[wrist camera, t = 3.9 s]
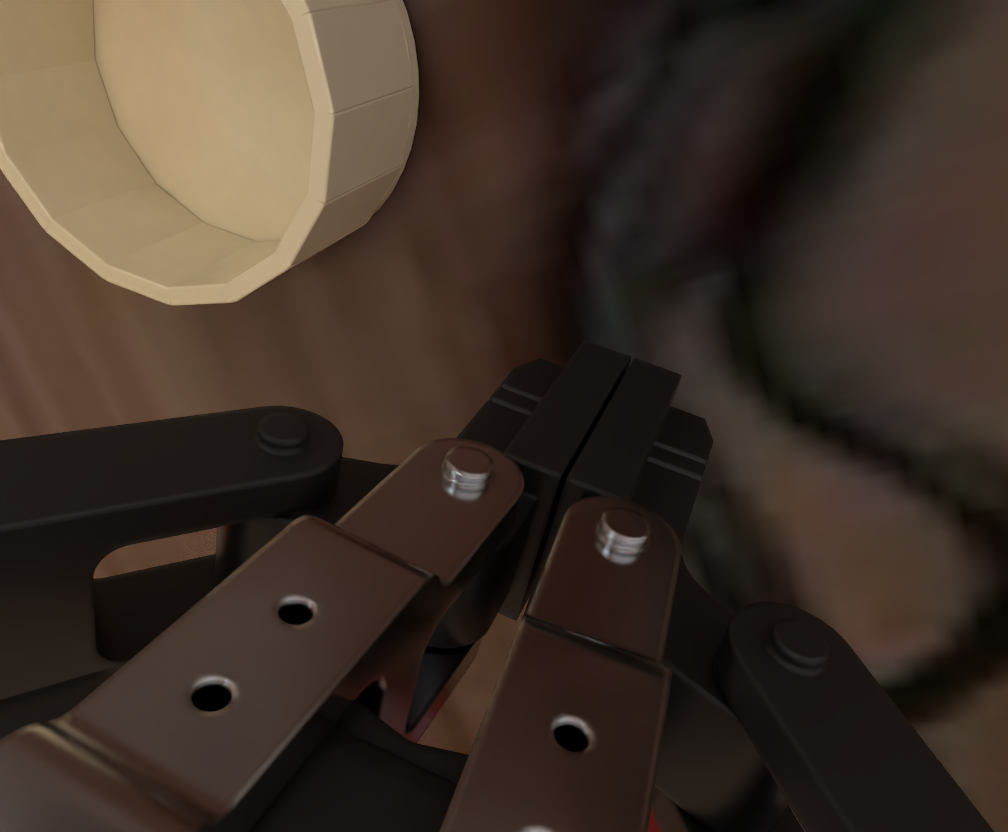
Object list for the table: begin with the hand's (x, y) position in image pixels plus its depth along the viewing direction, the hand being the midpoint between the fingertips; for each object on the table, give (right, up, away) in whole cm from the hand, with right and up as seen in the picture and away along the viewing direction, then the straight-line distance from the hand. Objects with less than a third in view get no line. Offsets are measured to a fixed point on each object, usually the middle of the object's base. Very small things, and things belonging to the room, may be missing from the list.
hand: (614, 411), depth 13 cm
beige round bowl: (-8, +9, +11) cm, 16 cm away
